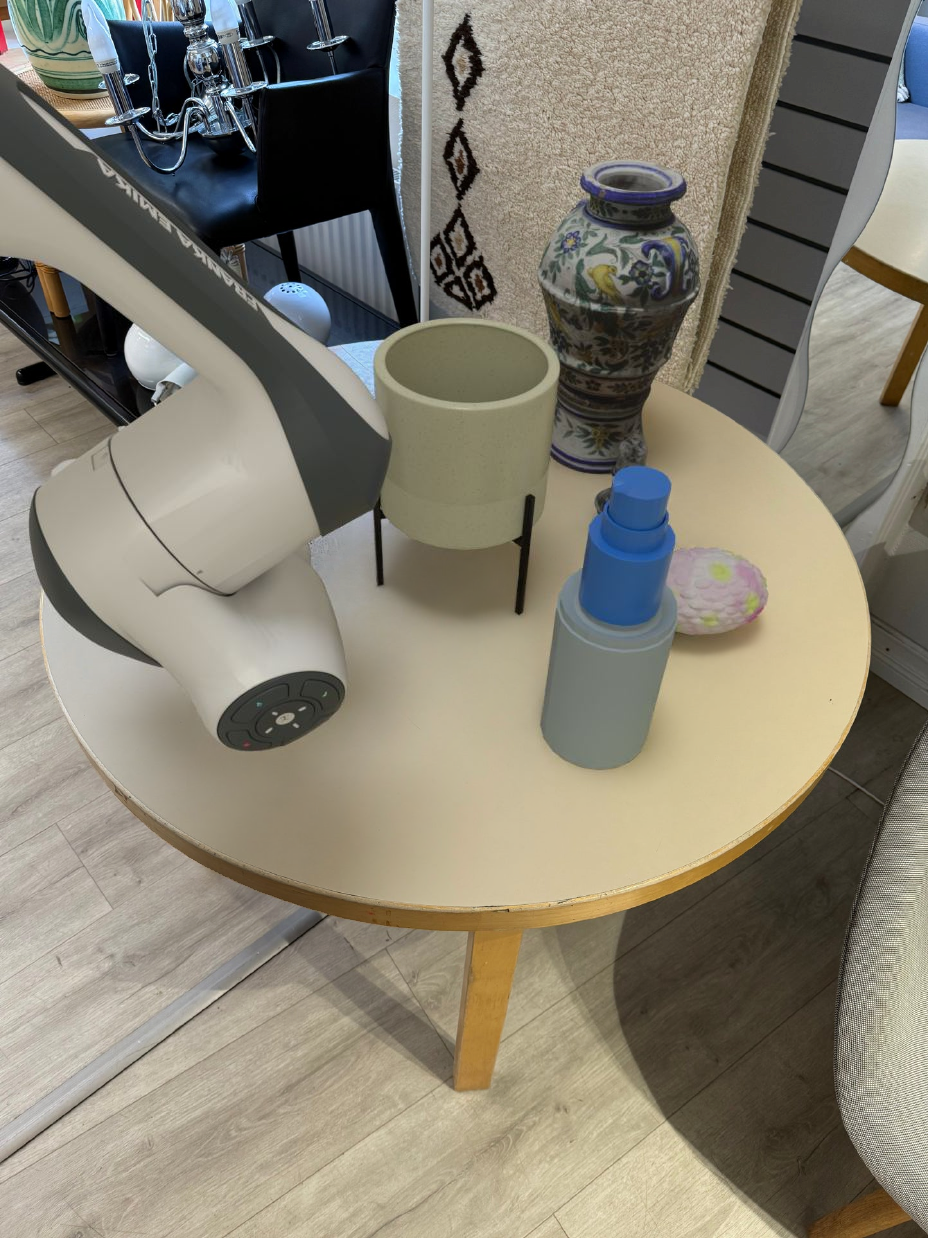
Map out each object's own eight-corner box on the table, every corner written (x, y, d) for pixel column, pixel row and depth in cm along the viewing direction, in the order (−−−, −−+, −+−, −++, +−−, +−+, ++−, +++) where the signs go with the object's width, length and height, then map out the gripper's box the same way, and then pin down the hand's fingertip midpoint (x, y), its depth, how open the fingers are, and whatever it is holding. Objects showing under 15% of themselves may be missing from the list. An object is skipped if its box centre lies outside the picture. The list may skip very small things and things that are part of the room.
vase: (576, 504, 98) (617, 221, 77) (495, 426, 109) (511, 160, 88) (695, 464, 104) (762, 192, 83) (607, 394, 115) (647, 138, 94)
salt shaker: (650, 521, 96) (672, 423, 88) (640, 554, 92) (661, 455, 84) (596, 509, 98) (613, 411, 89) (584, 541, 94) (599, 442, 85)
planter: (363, 536, 93) (350, 325, 77) (510, 516, 96) (528, 309, 80) (392, 638, 83) (384, 419, 67) (556, 612, 86) (587, 396, 70)
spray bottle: (639, 688, 79) (699, 445, 62) (653, 771, 73) (724, 526, 55) (537, 685, 79) (569, 440, 62) (543, 768, 73) (579, 521, 55)
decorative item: (608, 561, 84) (699, 508, 78) (671, 582, 92) (758, 535, 86) (637, 650, 80) (734, 600, 74) (700, 664, 88) (792, 620, 82)
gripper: (386, 466, 58) (332, 364, 67) (48, 526, 53) (39, 406, 62) (388, 542, 63) (337, 437, 72) (76, 605, 57) (64, 482, 66)
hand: (197, 423), depth 67 cm, fingers open, 8 cm apart
